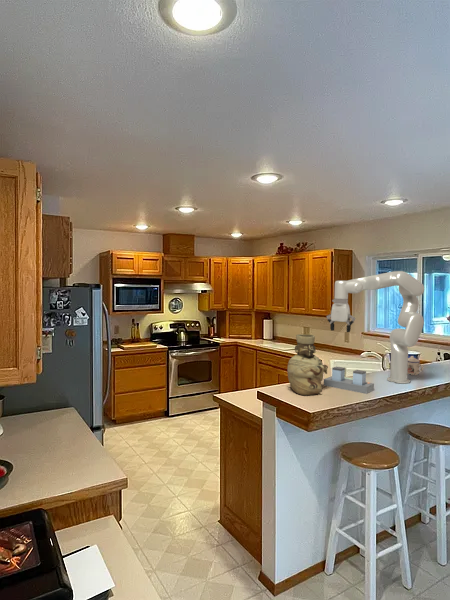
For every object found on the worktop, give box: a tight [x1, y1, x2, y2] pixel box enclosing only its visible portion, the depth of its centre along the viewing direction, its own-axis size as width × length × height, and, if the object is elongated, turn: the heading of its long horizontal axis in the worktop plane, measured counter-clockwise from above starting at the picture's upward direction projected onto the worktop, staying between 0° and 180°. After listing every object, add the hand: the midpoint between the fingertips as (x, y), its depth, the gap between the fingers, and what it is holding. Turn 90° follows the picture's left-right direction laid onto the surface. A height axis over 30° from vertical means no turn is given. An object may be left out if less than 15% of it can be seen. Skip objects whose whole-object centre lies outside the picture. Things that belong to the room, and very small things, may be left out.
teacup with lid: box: [407, 355, 424, 376], centre depth 257 cm, size 12×9×12 cm
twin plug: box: [352, 369, 367, 385], centre depth 211 cm, size 5×5×10 cm
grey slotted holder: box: [323, 375, 375, 395], centre depth 215 cm, size 10×24×5 cm, turn 49°
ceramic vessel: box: [286, 333, 329, 396], centre depth 211 cm, size 19×21×30 cm
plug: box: [331, 366, 346, 381], centre depth 219 cm, size 5×5×10 cm
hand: (340, 331), depth 230 cm, fingers open, 9 cm apart
